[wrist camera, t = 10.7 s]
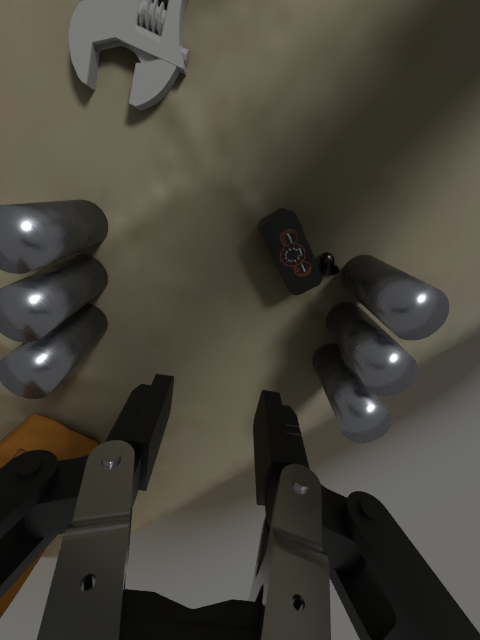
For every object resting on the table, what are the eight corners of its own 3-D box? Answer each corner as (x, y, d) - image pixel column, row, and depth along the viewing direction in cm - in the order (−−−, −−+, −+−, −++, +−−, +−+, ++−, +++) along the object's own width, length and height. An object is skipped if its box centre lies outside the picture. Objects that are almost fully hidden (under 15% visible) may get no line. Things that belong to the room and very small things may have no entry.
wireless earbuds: (290, 293, 27) (296, 305, 24) (255, 221, 24) (258, 226, 21) (337, 269, 26) (350, 280, 23) (306, 193, 24) (317, 193, 21)
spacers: (61, 195, 23) (-34, 199, 15) (387, 259, 26) (460, 292, 17) (69, 334, 28) (1, 394, 20) (341, 376, 31) (380, 445, 22)
